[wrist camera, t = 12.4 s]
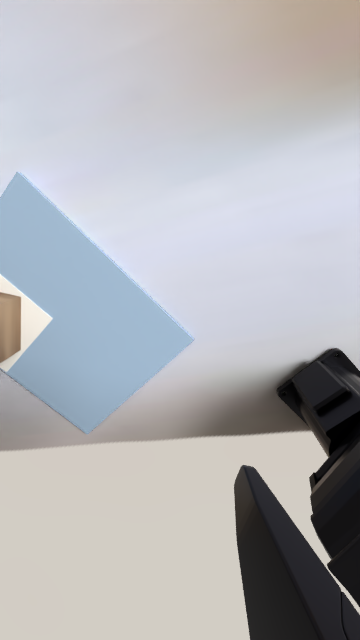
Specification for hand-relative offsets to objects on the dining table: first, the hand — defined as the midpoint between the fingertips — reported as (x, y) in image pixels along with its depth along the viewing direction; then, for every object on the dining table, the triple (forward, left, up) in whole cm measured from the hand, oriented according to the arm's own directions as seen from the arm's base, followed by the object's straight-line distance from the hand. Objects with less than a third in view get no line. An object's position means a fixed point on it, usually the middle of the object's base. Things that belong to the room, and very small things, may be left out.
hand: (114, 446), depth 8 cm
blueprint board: (+6, +7, -13) cm, 16 cm away
